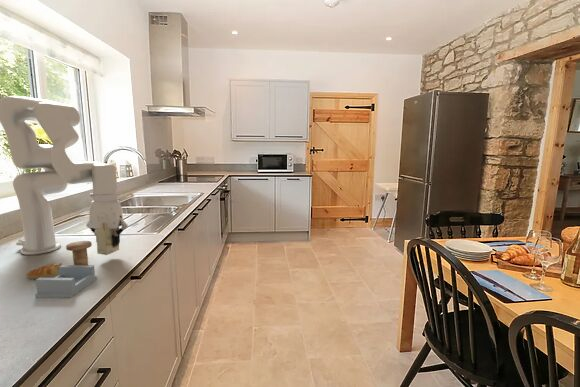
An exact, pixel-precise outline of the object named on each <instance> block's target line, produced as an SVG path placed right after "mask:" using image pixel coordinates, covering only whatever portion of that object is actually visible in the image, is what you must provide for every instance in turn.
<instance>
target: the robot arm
mask: <svg viewBox="0 0 580 387" xmlns="http://www.w3.org/2000/svg"><path fill="white" fill-rule="evenodd" d="M26 121H32V122H33V121H35V122H38V123H39V125H40V127H41V128H42V130H43V131H44V133H45V134H46V136H47V137H48V139H49V140H50V142H51V143H52V144H39V142H38V139H37V135H36V133H35V130H34V129H33V128H32V127H31V125H29V124H28V123H27V122H26ZM80 122H81V115H80V113H79V111H78V110H77V108H75V107H74V106H73V105H71V104H66V103H61V102H58V101H53V100H49V99H42V98H34V97H27V96H20V95H9V96H8V95H7V96H3V97H2V98H0V125H1V126H2V128H3V131H4V132H5V135H6V138H7V143H8V147H9V152H10V156H11V159H12V162H13V164H14V165H15V167H16V168H18V169H22V170H33V169H34V170H35V169H44V170H43V171H32V172H24V173H20V174H19V175H17V176H15V177H14V179H13V181H12V187H13V190H14V193H15V195H16V197H17V198H16V199H17V201H18V205H19V210H20V217H21V225H22V231H23V238H20V239H19V240H18V241H17V242H16V246H22V248H21V249H20V253H21V254H22V255H27V256H31V255H33V256H34V255H41V254H45V253H50V252H54V251H56V250H58V249H59V248H61V243H60V242H57V241H56V236H55V235H56V234H55V228H54V227H55V226H54V218H53V210H52V205H51V203H50V202H49V201H48V200H47V198H46V197H44V196H47V195H53V194H59V193H62V192H64V191H65V190H67V188H68V184H71V185H76V184H77V185H78V184H84V183H85V184H86V183H92V193H90V194H89V197H90V198H92V199H93V200H92V201H91V203H90V206H89V221H88V222H87V224H86V227H87V228H88V229H89V230H90V231H91V232H92V233H93V235H94V236H95V238H96V241H95V242H96V243H97V231H96V229H98V228H100V226H101V223H107V229H112V231H113V234H114V236H113V237H112V238H113V246H117V245H118V244H119V245H120V241H121V238H120V237H121V236H120V235H121V234H122V233H123V232H124V231H125V230H127V229H128V227H129V225H128V224H127V222H126V221H125V220H124V215H123V209H122V205H121V202H120V200H119V199H118V182H117V181H118V180H117V179H118V178H117V167H116V166H115V164H113V163H102V162H99V161H76V162H75V161H74V162H73V161H72V160H71V159H70V158H69V156H68V154H67V153H66V149H68V148H69V147H72V146H73V145H75V144H77V142H78V141H79V134H78V133H77V131H76V129H75V128H74V127H76V126H78V125H79V124H80ZM120 227H121V228H120Z"/></svg>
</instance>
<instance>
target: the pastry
mask: <svg viewBox="0 0 580 387" xmlns="http://www.w3.org/2000/svg"><path fill="white" fill-rule="evenodd" d="M61 265H63V264H62V263H57V264H55V263H53V264H51V263H50V264H47V265H42V266H40V267H38V268H35V269H33V270H29V272H27V273H26V276H27V278H28V279H30V280H36V279H38V278H55V277H56V276H58V275H60V273H59V267H60V266H61Z"/></svg>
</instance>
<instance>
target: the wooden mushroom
mask: <svg viewBox="0 0 580 387" xmlns="http://www.w3.org/2000/svg"><path fill="white" fill-rule="evenodd" d="M92 245H93V244H92V241H90V240H80V241H78V240H77V241H73V242H70V243H68V244H66V246H65V248H66V251H68V252H69V251H72V260H73V262H72V263H73V265H89V257H88V249H89V248H91V247H92Z"/></svg>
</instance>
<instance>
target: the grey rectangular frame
mask: <svg viewBox="0 0 580 387" xmlns="http://www.w3.org/2000/svg"><path fill="white" fill-rule="evenodd" d="M59 273H60V275H58V276H56V277H55V278H38V279H35V285H36V286H35V288H36V293H35V294H34V296H35V298H38V299H39V298H47V299H48V298H54V299H55V298H56V299H58V298H59V299H60V298H61V299H64V298H67V299H69V298H70V299H71V298H72V297H74V296H76V294H78V293H79V292H81V291H82V290H84V289H85V288H87V287H88V286H90V284H92V283H94V282H95V281H96V280H97V279H98V278H97V277H98V276H97V275H95V265H92V264H90V265H89V264H88V265H74V264H71V265H70V264H62V265H61V266H60V267H59Z"/></svg>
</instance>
